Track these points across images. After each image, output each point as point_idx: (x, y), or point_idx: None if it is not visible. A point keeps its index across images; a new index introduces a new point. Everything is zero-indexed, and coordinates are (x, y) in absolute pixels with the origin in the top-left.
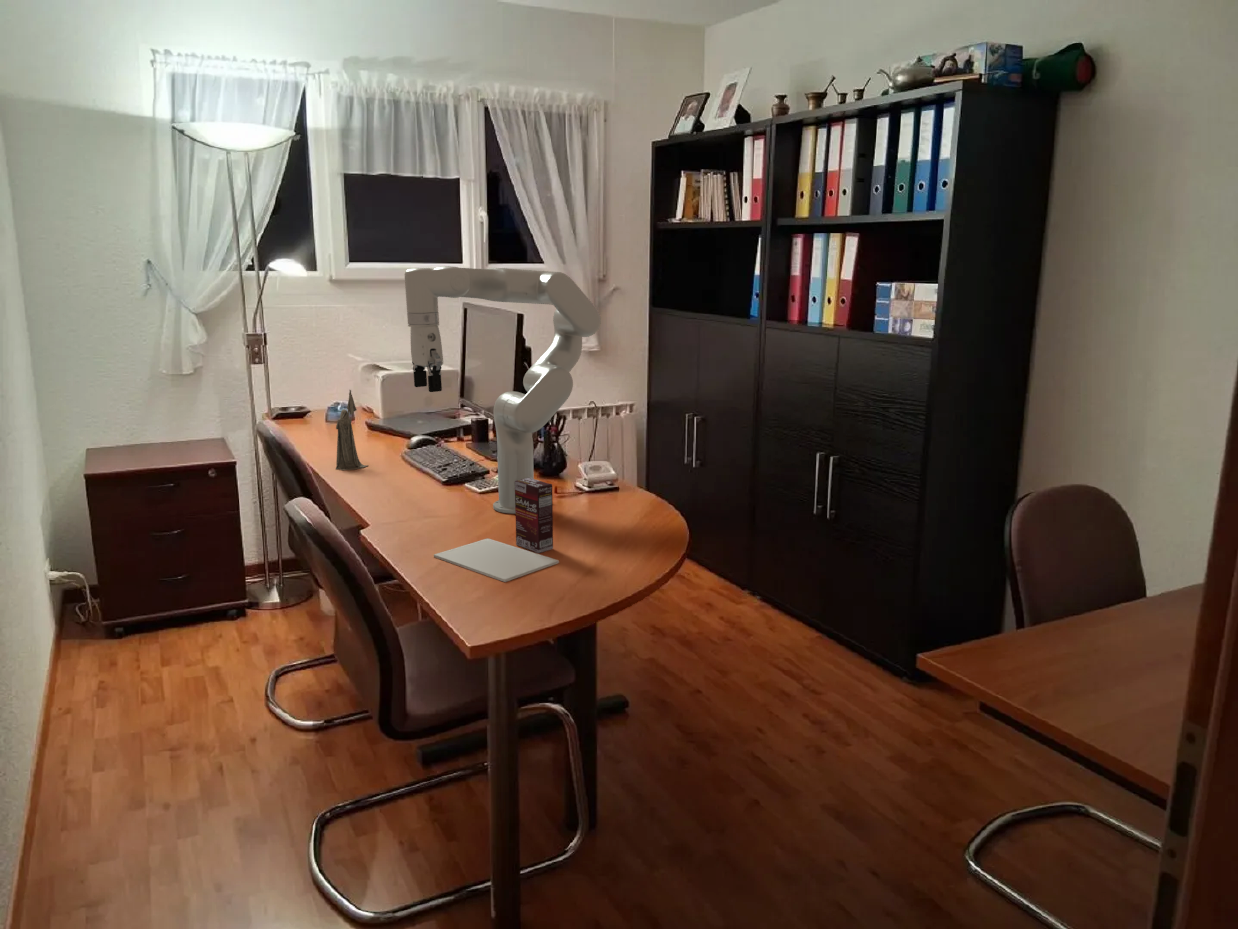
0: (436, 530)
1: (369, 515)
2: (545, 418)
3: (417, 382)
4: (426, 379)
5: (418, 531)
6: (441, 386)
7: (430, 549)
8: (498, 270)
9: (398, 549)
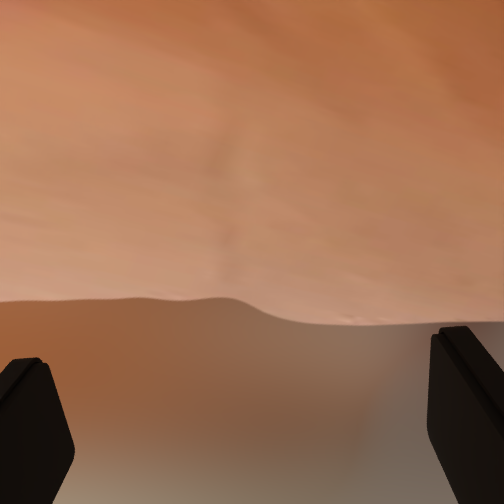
0: (347, 180)
1: (143, 292)
2: None
3: (52, 472)
4: (12, 405)
5: (332, 223)
6: (483, 349)
7: (482, 235)
8: None
9: (439, 295)
